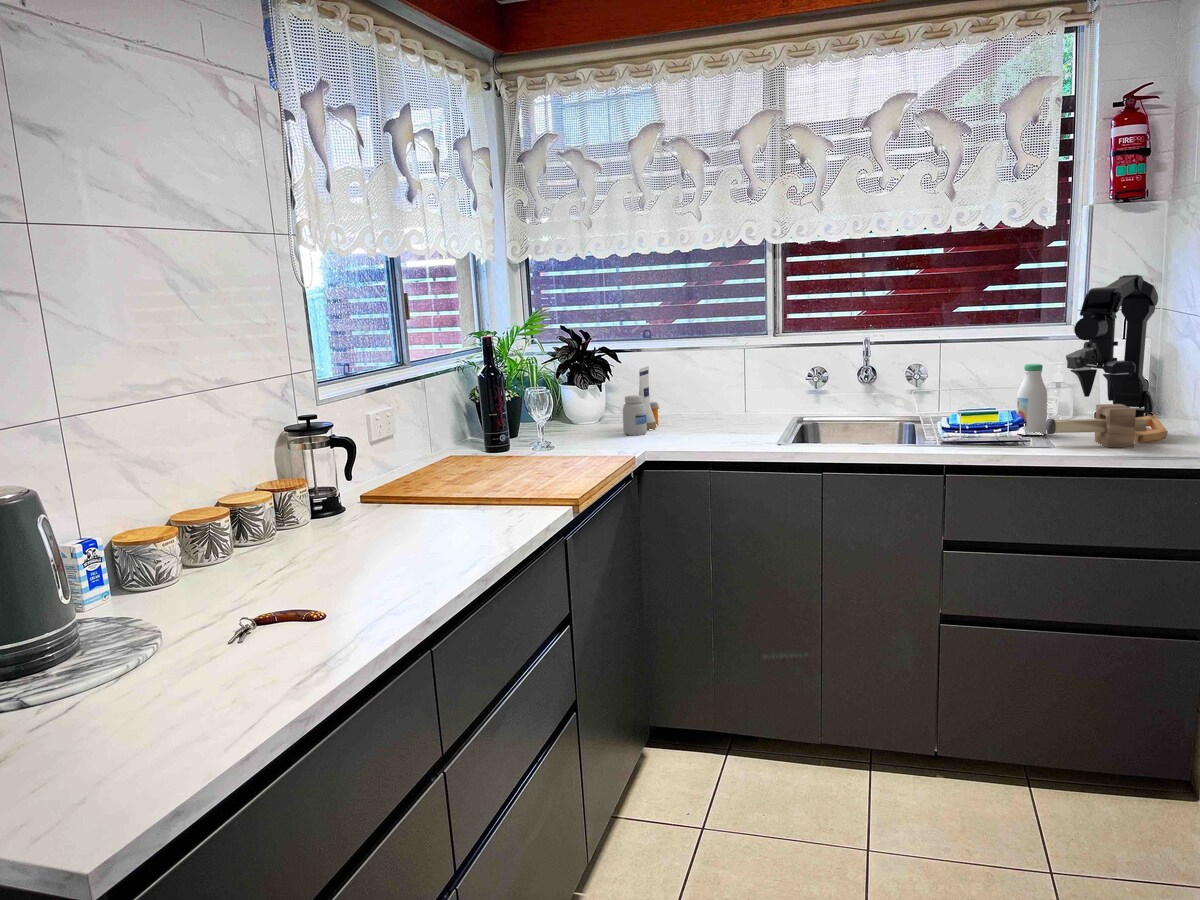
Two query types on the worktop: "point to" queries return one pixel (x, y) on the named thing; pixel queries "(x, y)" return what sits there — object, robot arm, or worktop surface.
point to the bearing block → (1116, 425)
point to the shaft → (1085, 425)
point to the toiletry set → (640, 408)
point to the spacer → (1154, 434)
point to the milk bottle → (1033, 399)
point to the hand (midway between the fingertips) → (1098, 398)
